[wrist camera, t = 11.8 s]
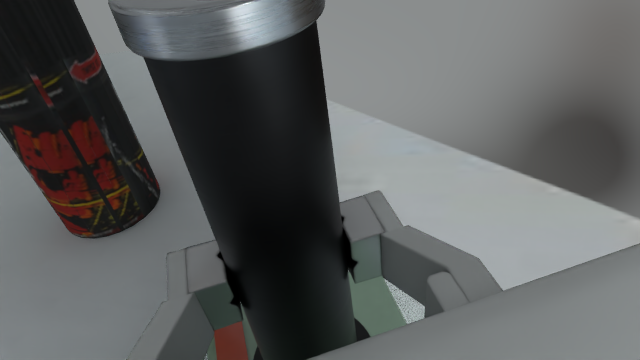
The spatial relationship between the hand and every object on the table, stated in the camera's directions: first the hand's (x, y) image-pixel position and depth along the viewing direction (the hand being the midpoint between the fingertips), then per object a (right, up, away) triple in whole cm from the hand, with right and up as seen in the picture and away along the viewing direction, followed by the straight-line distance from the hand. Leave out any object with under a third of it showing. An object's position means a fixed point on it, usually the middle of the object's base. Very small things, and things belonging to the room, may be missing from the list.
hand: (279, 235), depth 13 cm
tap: (0, -4, +5) cm, 7 cm away
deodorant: (-12, 0, +16) cm, 20 cm away
